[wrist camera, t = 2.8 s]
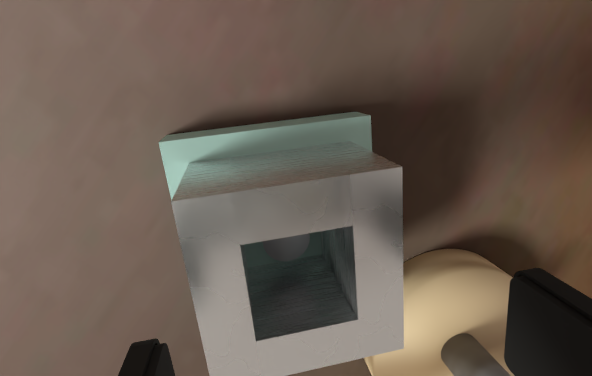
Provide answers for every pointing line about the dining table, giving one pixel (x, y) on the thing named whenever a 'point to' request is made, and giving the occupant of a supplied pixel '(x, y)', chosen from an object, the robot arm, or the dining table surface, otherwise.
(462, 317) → the hub
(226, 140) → the stand
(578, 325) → the robot arm
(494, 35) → the dining table surface
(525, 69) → the dining table surface
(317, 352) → the collar
